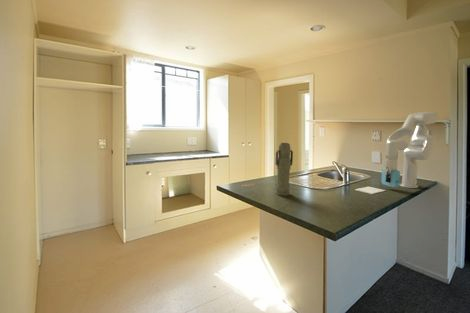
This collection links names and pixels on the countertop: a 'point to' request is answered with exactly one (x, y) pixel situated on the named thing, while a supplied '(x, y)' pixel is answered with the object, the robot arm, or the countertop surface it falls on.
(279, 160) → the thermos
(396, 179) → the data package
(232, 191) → the countertop surface
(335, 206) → the countertop surface
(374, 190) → the mat
